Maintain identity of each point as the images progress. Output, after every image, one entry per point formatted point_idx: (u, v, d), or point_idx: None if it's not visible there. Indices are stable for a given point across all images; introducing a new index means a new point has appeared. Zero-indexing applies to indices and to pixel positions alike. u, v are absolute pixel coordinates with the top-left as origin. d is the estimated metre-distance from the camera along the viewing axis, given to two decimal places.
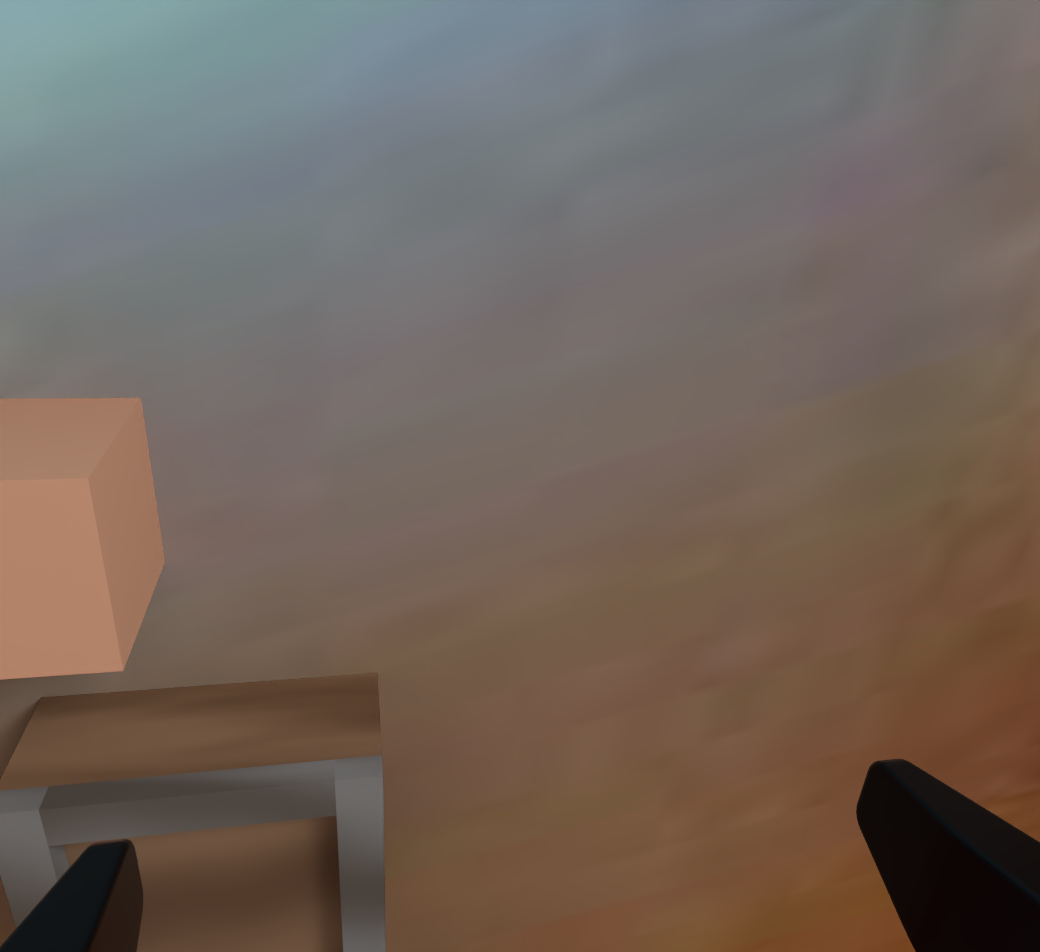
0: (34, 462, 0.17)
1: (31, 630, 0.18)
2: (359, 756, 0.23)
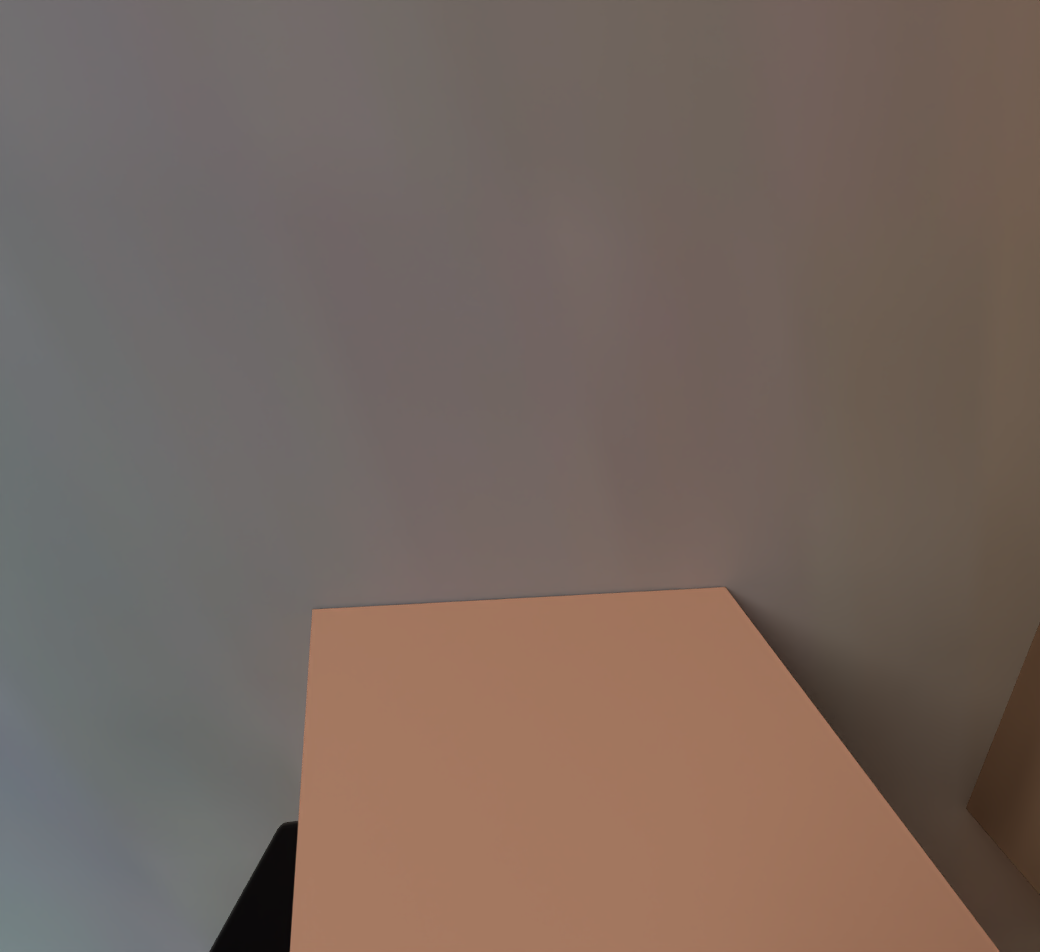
0: None
1: None
2: None
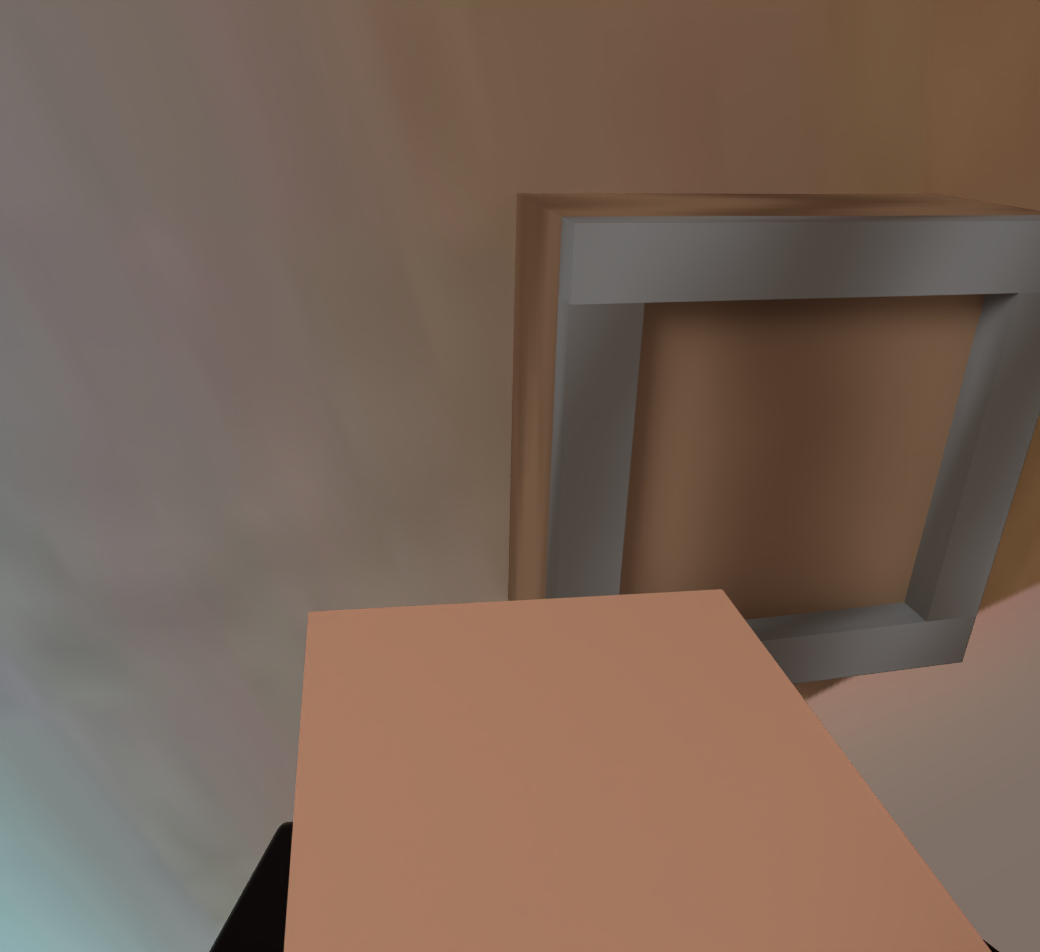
0: None
1: None
2: (559, 254, 0.14)
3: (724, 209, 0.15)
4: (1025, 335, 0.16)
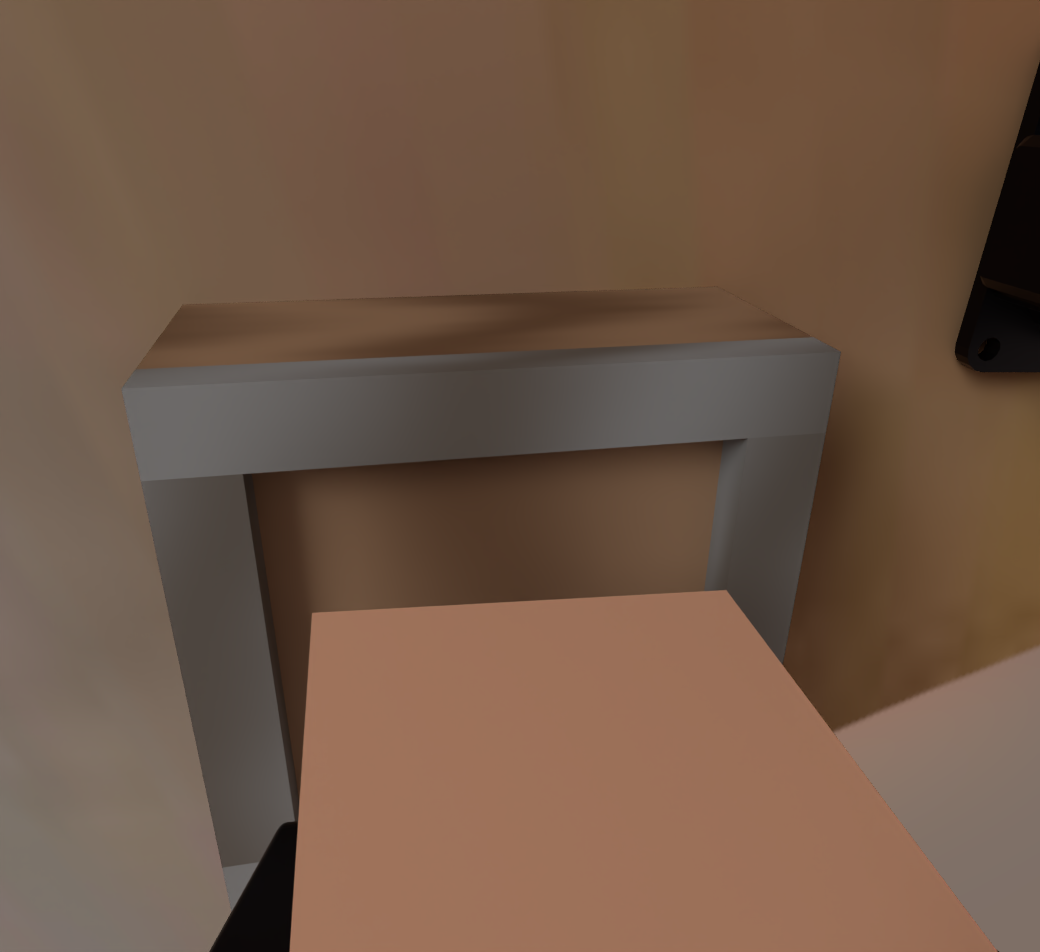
0: None
1: None
2: None
3: (383, 340, 0.12)
4: (766, 484, 0.13)
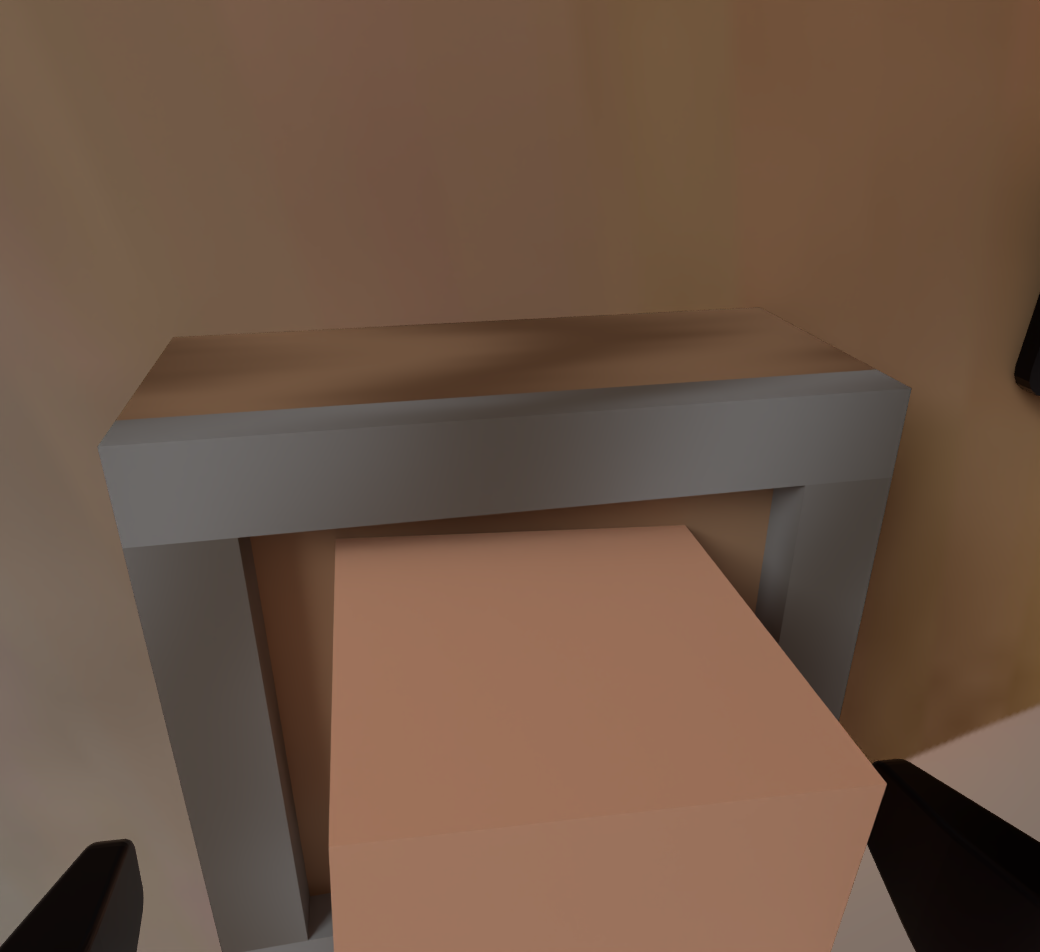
0: None
1: (724, 929, 0.08)
2: None
3: (395, 378, 0.11)
4: (824, 535, 0.11)
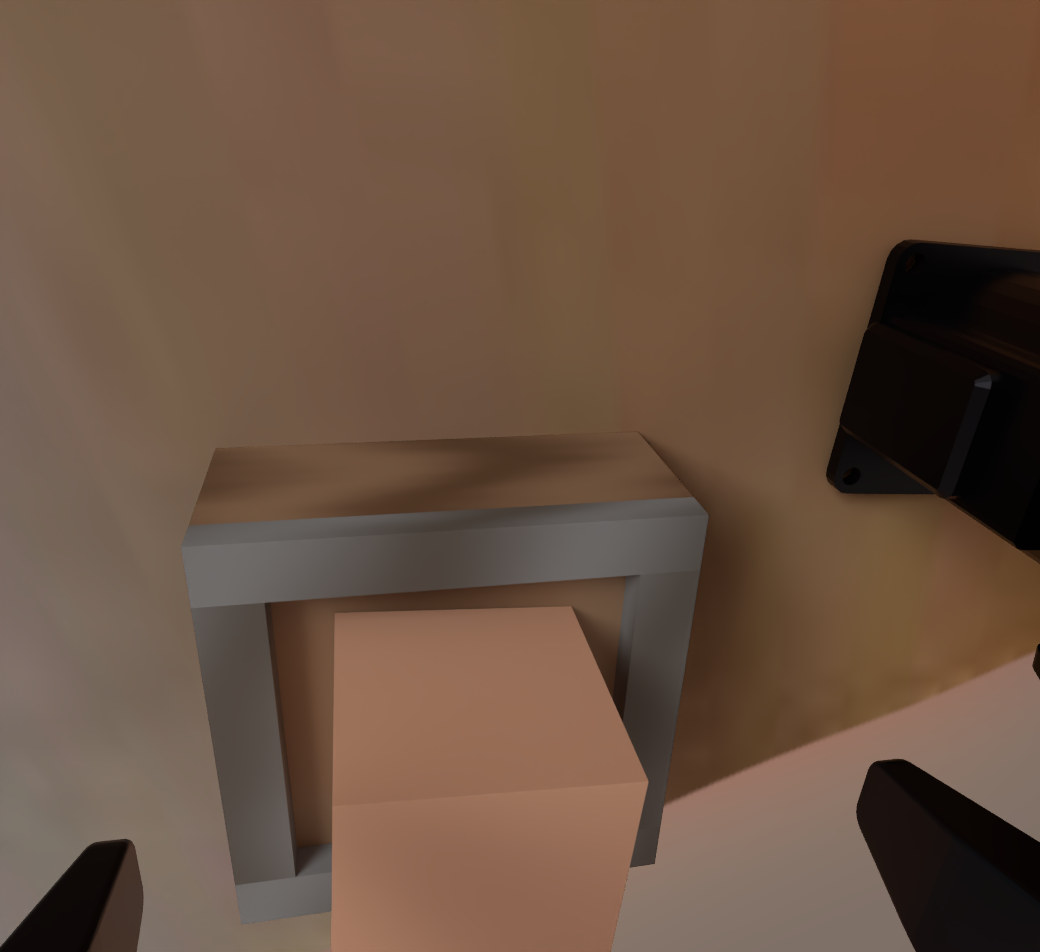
0: None
1: (558, 864, 0.14)
2: None
3: (370, 494, 0.17)
4: (655, 606, 0.17)
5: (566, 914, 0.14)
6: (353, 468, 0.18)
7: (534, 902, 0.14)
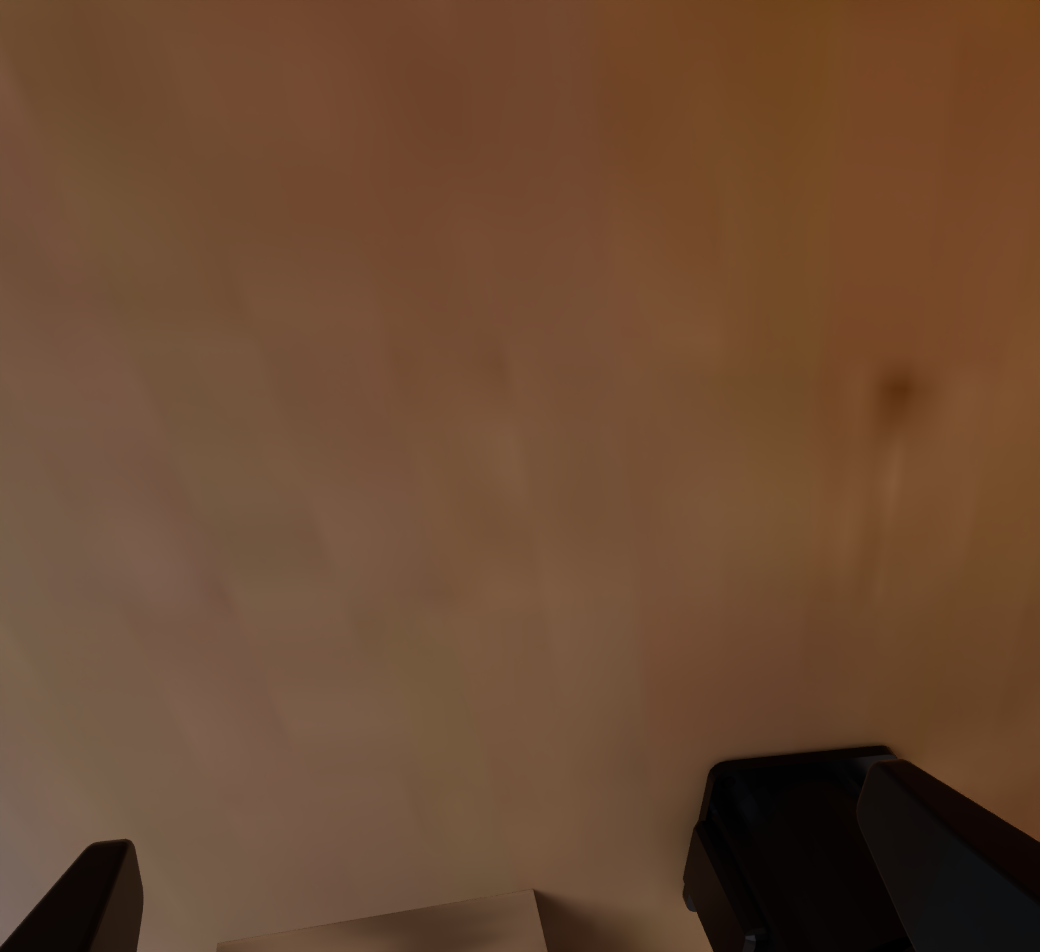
0: None
1: None
2: None
3: None
4: None
5: None
6: None
7: None
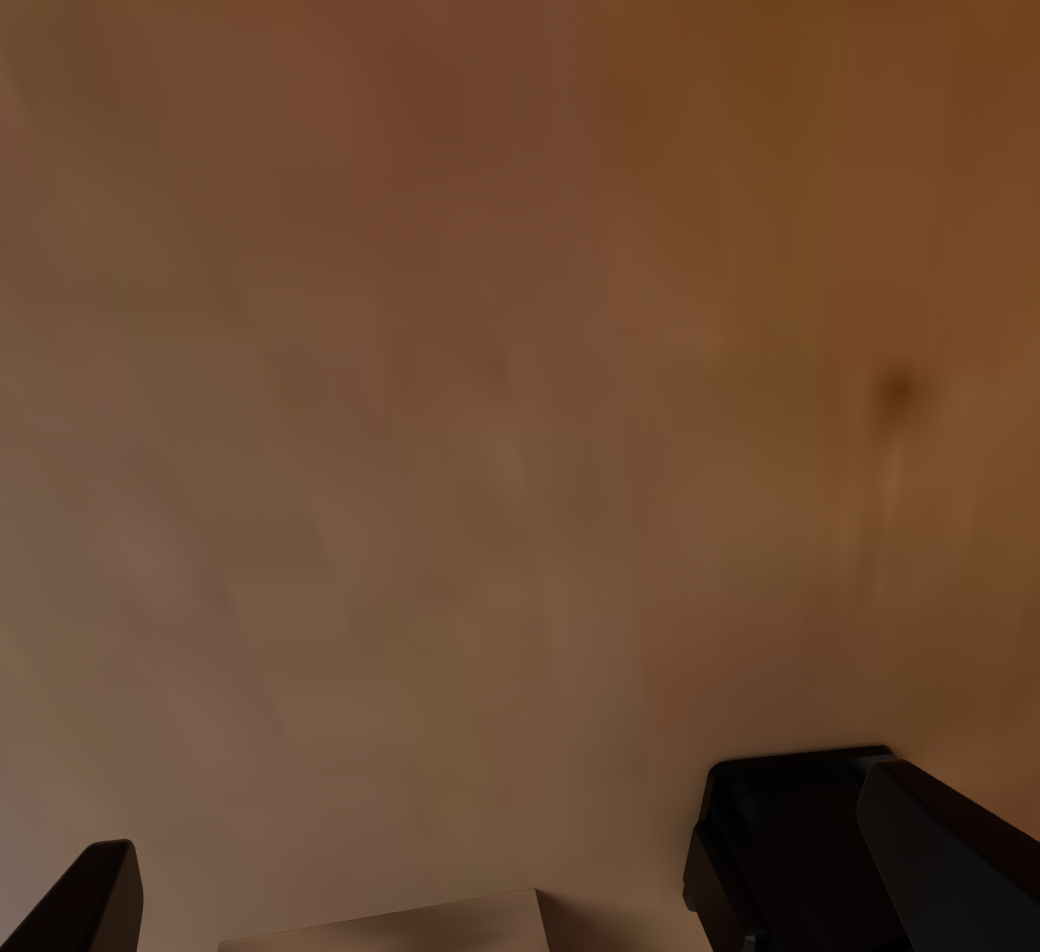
0: None
1: None
2: None
3: None
4: None
5: None
6: None
7: None
